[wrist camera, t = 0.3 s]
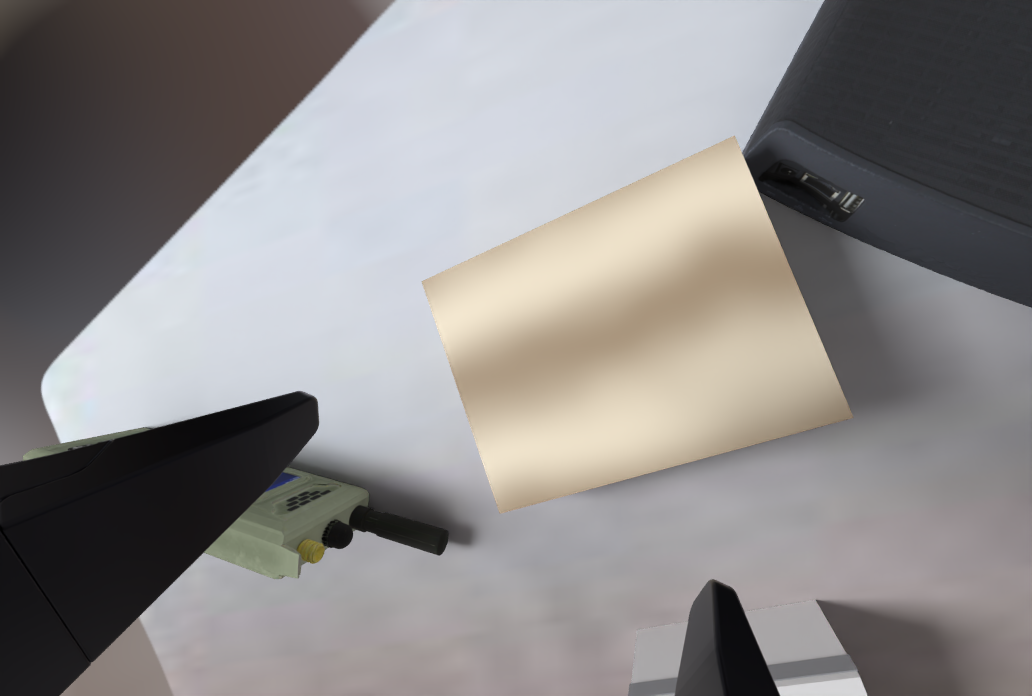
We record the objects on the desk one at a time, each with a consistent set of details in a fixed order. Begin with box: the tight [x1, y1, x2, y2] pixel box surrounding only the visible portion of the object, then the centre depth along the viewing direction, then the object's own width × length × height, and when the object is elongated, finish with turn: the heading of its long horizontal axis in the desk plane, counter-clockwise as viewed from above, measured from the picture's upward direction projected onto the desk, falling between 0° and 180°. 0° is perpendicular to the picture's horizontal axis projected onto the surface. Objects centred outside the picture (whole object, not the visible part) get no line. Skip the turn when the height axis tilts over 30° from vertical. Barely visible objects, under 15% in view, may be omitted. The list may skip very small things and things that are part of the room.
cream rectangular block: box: [422, 136, 853, 513], centre depth 21 cm, size 11×14×4 cm
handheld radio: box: [23, 427, 448, 579], centre depth 26 cm, size 7×3×25 cm
